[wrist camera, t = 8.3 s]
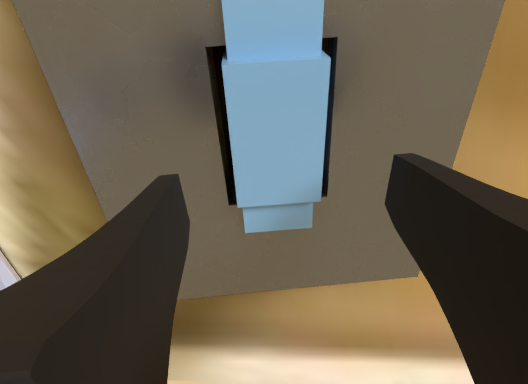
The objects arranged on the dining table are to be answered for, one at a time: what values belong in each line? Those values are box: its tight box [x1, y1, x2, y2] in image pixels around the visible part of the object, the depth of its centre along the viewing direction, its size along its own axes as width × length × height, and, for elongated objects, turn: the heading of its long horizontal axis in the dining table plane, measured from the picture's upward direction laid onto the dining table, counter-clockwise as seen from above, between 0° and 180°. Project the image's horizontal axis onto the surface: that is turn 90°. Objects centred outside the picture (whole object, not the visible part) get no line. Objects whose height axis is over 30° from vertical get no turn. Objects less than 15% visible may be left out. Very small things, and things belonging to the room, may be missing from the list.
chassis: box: [12, 0, 505, 300], centre depth 16 cm, size 22×18×3 cm
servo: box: [222, 0, 331, 233], centre depth 15 cm, size 11×4×4 cm, turn 3°
